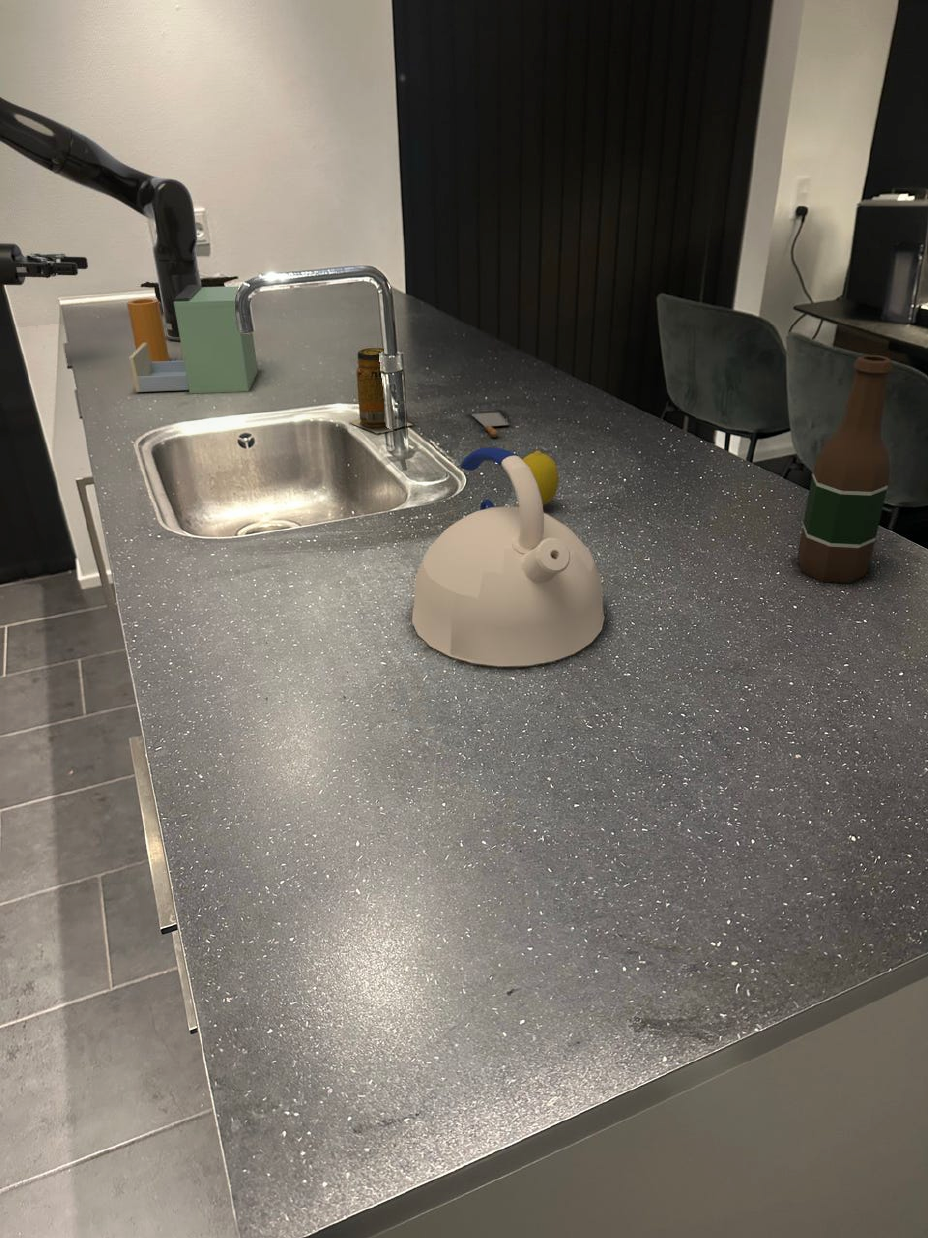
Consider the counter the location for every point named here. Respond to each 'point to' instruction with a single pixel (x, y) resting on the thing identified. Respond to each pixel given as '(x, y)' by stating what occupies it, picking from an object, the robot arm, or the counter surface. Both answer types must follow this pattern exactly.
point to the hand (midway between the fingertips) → (82, 265)
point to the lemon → (543, 474)
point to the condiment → (370, 392)
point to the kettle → (508, 581)
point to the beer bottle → (849, 483)
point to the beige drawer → (156, 373)
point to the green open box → (214, 341)
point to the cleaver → (491, 421)
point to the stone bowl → (204, 283)
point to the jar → (148, 327)
